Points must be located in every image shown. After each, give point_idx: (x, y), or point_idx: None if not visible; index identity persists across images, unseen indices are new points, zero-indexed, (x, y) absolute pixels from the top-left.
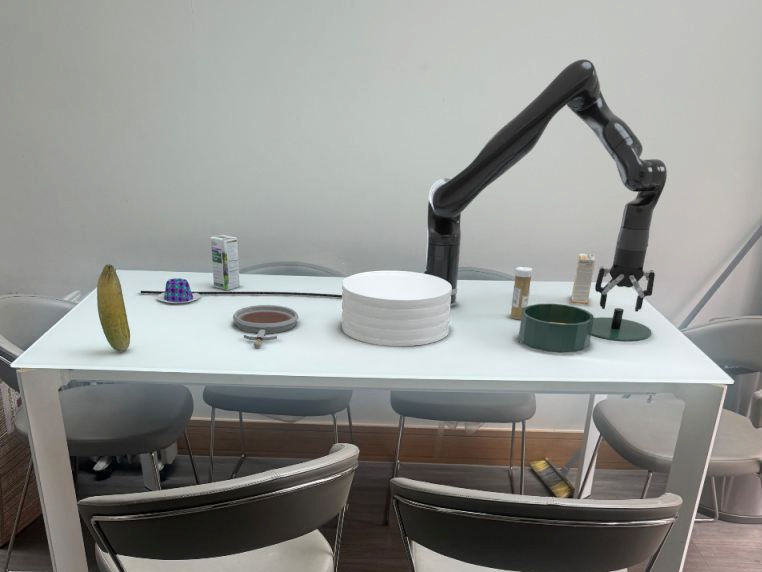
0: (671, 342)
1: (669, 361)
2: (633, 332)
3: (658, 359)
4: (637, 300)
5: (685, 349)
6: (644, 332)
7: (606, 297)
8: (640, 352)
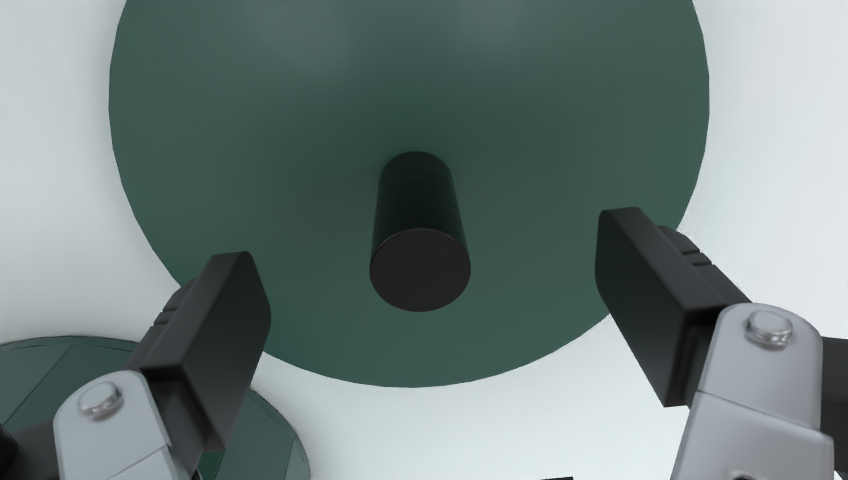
0: (798, 231)
1: None
2: (553, 237)
3: (634, 474)
4: (646, 361)
5: (836, 317)
6: (639, 204)
7: (231, 424)
8: (562, 433)
